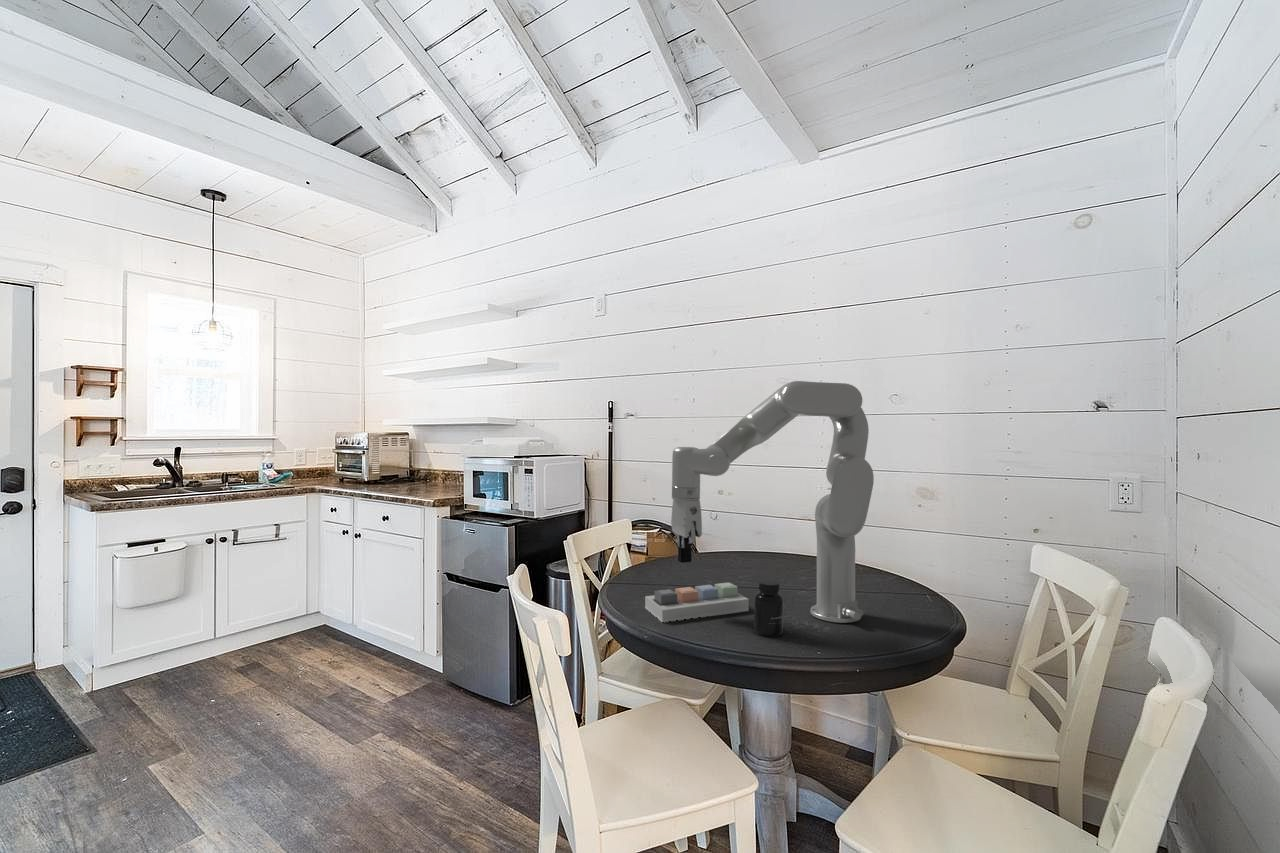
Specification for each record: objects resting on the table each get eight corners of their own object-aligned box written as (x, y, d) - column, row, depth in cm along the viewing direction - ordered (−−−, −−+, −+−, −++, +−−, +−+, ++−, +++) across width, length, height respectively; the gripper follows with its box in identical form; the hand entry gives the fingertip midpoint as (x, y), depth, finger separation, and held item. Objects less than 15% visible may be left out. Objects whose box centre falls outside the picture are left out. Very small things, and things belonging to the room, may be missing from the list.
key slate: (718, 600, 155) (718, 588, 155) (702, 602, 153) (702, 590, 153) (710, 595, 159) (710, 584, 159) (695, 597, 157) (695, 585, 157)
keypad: (748, 610, 154) (748, 599, 154) (662, 622, 145) (662, 610, 145) (726, 597, 165) (726, 586, 165) (645, 608, 156) (645, 596, 156)
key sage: (737, 597, 157) (737, 586, 157) (722, 599, 155) (722, 588, 155) (729, 593, 161) (729, 581, 161) (714, 594, 160) (714, 583, 159)
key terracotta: (697, 602, 153) (697, 590, 153) (682, 604, 151) (682, 592, 151) (690, 597, 157) (690, 586, 157) (675, 599, 155) (675, 588, 155)
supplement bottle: (777, 639, 134) (777, 588, 134) (750, 633, 137) (750, 583, 137) (787, 630, 140) (787, 581, 140) (760, 625, 143) (760, 577, 143)
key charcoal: (677, 605, 151) (677, 593, 150) (661, 607, 149) (661, 595, 149) (670, 600, 155) (670, 588, 155) (654, 602, 153) (654, 590, 153)
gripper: (711, 496, 148) (710, 567, 148) (686, 489, 162) (685, 554, 162) (684, 497, 145) (683, 569, 146) (662, 490, 159) (661, 556, 160)
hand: (684, 561), depth 154 cm, fingers closed
